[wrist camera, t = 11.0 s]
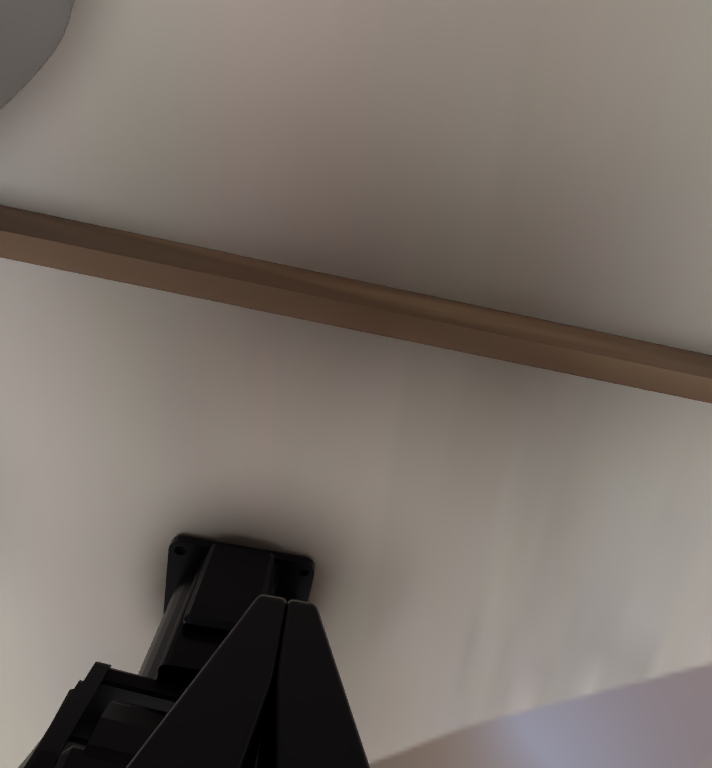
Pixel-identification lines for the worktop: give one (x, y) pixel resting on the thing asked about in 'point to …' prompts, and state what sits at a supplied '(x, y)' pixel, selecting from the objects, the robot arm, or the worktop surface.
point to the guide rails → (350, 304)
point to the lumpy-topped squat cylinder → (28, 40)
